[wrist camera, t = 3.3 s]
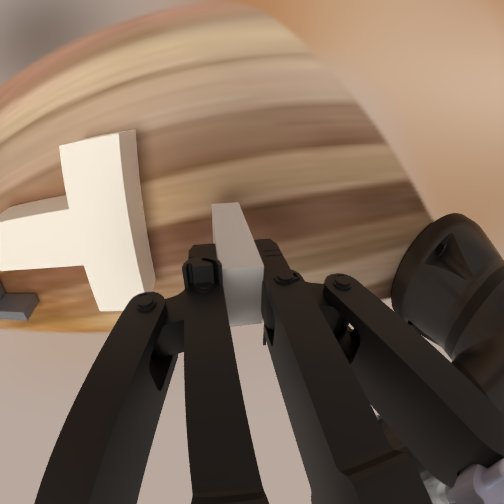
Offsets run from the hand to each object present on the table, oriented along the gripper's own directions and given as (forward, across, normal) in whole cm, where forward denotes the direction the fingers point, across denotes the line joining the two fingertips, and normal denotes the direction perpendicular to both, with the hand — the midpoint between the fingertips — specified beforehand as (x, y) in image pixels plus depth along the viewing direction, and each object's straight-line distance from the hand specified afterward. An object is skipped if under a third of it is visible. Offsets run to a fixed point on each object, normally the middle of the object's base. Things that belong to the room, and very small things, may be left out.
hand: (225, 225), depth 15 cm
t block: (+5, +12, 0) cm, 13 cm away
